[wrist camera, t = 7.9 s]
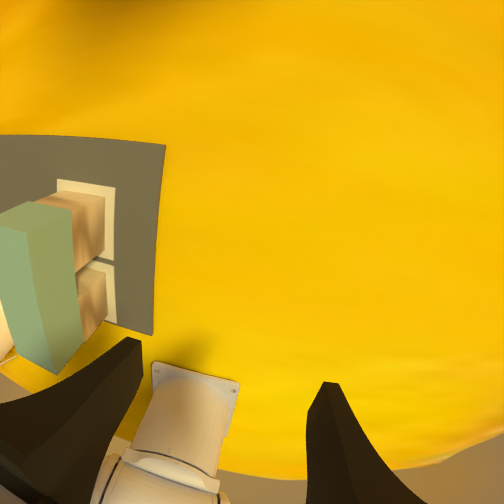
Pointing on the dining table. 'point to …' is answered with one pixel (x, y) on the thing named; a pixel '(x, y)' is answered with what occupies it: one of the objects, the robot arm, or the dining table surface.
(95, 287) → the wooden cube
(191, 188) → the dining table surface
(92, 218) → the pillar
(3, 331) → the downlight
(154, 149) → the mat
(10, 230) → the lintel
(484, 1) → the dining table surface
